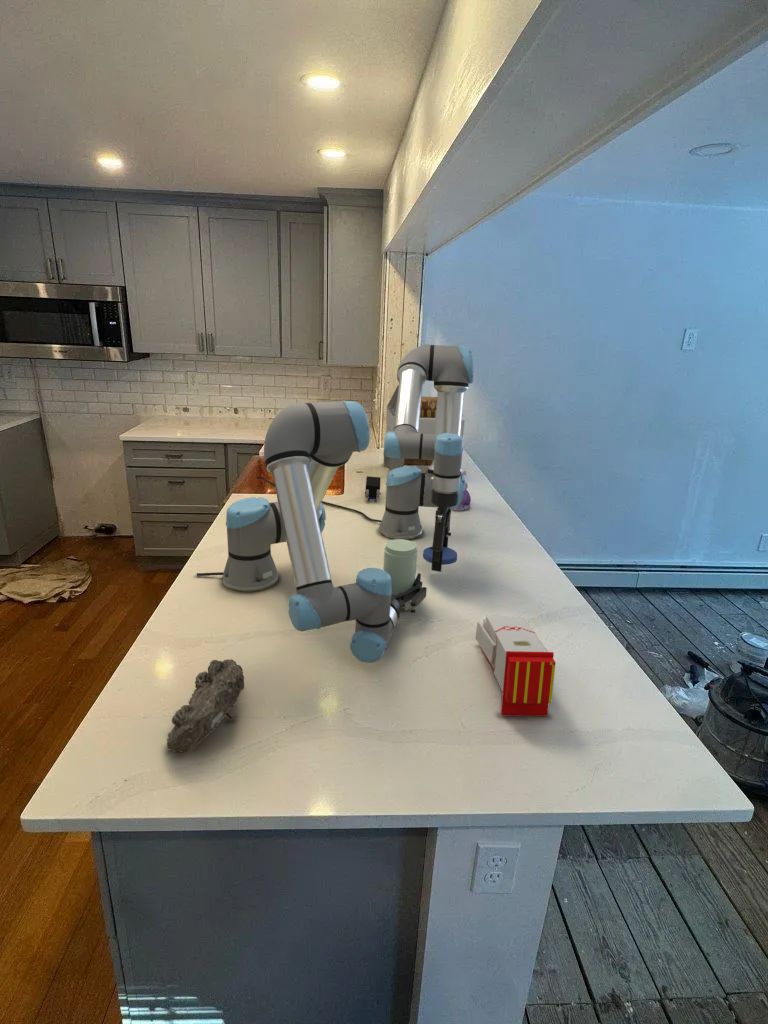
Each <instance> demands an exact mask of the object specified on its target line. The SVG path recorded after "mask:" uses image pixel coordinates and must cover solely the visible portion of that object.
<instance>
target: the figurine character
mask: <svg viewBox="0 0 768 1024" xmlns="http://www.w3.org/2000/svg"><path fill="white" fill-rule="evenodd" d="M364 490H365V491H364V498H365V499H367V502H370V501H371V500H374V502H375V503H376V502H377V501H378V500H377V499H380V495H381V476H368V475H367V476H366V479H365V489H364Z"/></svg>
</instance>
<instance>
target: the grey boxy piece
mask: <svg viewBox="0 0 768 1024" xmlns="http://www.w3.org/2000/svg"><path fill="white" fill-rule="evenodd" d="M398 388H399V384H398V385H397V386H396V388H395V390H394V392H393V394H392V395H391V398H390V400H389V402H388V404H387V405H386V413H385V414H386V415H385V423H386V428H385V434H386V433H387V432H392V431H393V427H394V419H395V412H396V404H397V396H398ZM436 408H437V396H421V406H420V417H419V428H418V433H419V434H435V422H436ZM464 429H465V419H464V418H463V415H462V416H461V429H460V436H461V437H462V438H463V439H464V431H465V430H464ZM432 463H433V460H421V459H402V458H400V459H398V458H391V457H387V456H385V454H384V453H383V466H384V467H388V468H389V472H390V471H391V470H393V469H395V468H399V467H405V466H406V467H408V466H411V467H417V466H418V467H429V466H430V465H431V464H432Z"/></svg>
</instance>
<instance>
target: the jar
mask: <svg viewBox="0 0 768 1024" xmlns="http://www.w3.org/2000/svg"><path fill="white" fill-rule="evenodd" d="M417 558H418V549H417V544H416V543H415V542H414V541H412V540H404V539H389V540H388V541H386V543H385V546H384V551H383V569H382V570H384V571H386V572H387V573H388V574H389V575H390V576H391V583H392V595H397V594H398V593H400V592H401V593H403V592H405V591H407V590H409V589H410V588H412V587H413V585H414V582H415V579H416V577H417V575H416V573H417V571H416V570H417V560H418V559H417ZM408 603H409V601H408V602H407V603H405V604H408ZM408 610H409V609H405V610H404V611H403V612H405V611H408Z"/></svg>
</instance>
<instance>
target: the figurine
mask: <svg viewBox="0 0 768 1024" xmlns="http://www.w3.org/2000/svg"><path fill="white" fill-rule="evenodd" d="M461 475H464V476H465V477H466V475H467V471H466V470H464V471H462V472H461ZM468 487H469V485H468V482H467V480H466V479H465V485H464V490H463V495H462V499H461V502H460V505H459V506H458V507H457V508H451V510H453V511H466V510H468V509H470V507H471V502H472V498H471V494H470V492H469V491H468V490H467V489H468Z"/></svg>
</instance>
